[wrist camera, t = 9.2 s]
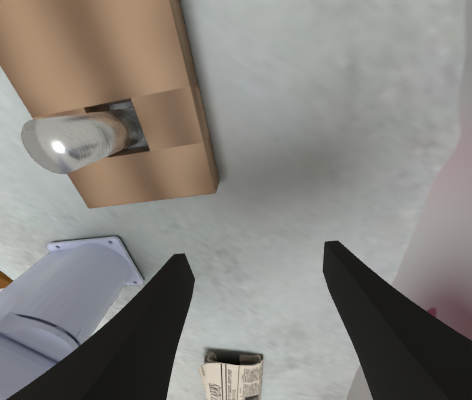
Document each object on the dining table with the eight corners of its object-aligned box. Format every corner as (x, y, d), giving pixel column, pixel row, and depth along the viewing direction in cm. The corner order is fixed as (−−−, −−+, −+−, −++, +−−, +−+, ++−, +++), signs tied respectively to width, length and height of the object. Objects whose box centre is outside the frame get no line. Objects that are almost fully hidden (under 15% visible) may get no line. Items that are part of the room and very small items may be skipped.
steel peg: (128, 142, 17) (44, 177, 10) (115, 110, 16) (8, 124, 9) (156, 138, 17) (88, 170, 10) (144, 105, 15) (57, 114, 8)
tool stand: (106, 195, 20) (88, 208, 18) (-108, -196, 9) (-216, -284, 7) (219, 181, 18) (215, 193, 16) (111, -308, 8) (58, -462, 6)
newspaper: (258, 413, 51) (258, 434, 48) (211, 410, 52) (209, 430, 49) (263, 346, 34) (264, 372, 31) (193, 343, 35) (187, 367, 31)
